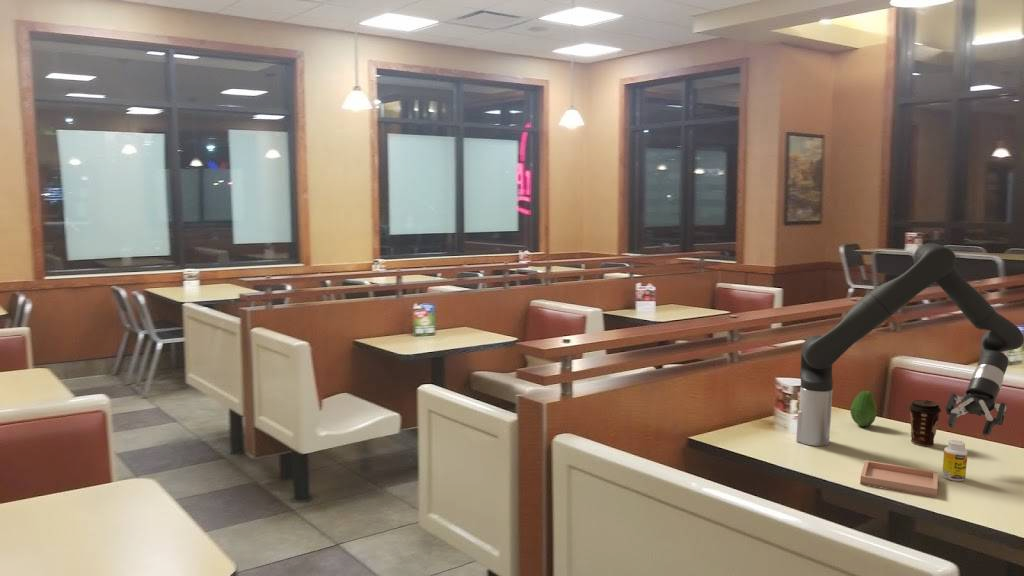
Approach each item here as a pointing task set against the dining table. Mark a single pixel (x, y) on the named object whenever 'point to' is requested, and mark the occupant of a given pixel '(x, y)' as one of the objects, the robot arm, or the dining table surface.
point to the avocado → (863, 409)
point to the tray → (900, 478)
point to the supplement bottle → (955, 461)
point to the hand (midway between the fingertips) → (967, 430)
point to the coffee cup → (924, 421)
